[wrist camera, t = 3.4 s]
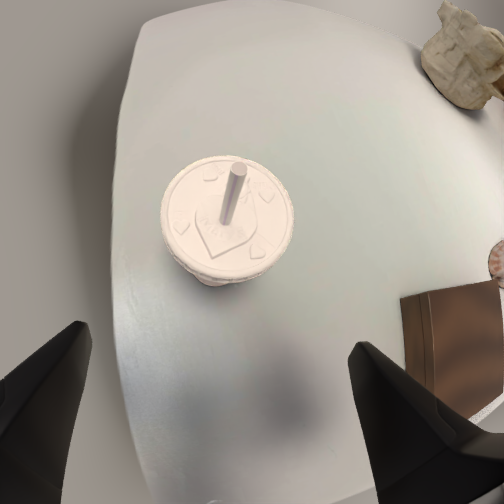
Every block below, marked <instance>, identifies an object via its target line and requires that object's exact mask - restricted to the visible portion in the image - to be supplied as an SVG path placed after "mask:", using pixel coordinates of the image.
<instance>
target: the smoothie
mask: <svg viewBox="0 0 504 504" xmlns="http://www.w3.org/2000/svg"><path fill="white" fill-rule="evenodd" d="M160 218H161V230H162V233H163V237H164V240H165V244H166V246H167V248H168V249H169V251H170V252H171V254H172V255H173V257H174V259H175V260H176V261H177V262H178V263H179V264H181V265H182V266H183V267H184V268H185V269H186V270H187V271H188V272H190V273H192V274H194V275H195V277H196V278H197V279H198V280H199V281H200V282H202V283H204V284H206V285H208V286H222V285H225V284H227V283H239V282H244V281H247V280H250V279H253V278H256V277H258V276H260V275H261V274H263V273H264V272H266V271H267V270H268V269H270V268H271V267H273V265H274V264H275V263H276V262H277V260H278V259H279V258H280V257H281V255H282V254H283V253H284V251H285V250H286V248H287V246H288V244H289V242H290V240H291V237H292V233H293V228H294V212H293V206H292V203H291V200H290V197H289V195H288V193H287V191H286V189H285V188H284V186H283V185H282V183H281V182H280V181H279V180H278V179H277V178H276V177H275V176H274V175H273V174H272V173H271V172H270V171H269V170H267V169H266V168H265V167H263V166H261V165H260V164H258V163H255V162H253V161H251V160H248V159H245V158H241V157H236V156H213V157H208V158H204V159H201V160H199V161H196V162H194V163H192V164H190V165H189V166H187V167H185V168H184V169H183V170H182V171H180V172H179V173H178V174H177V175H176V176H175V177H174V179H173V180H172V181H171V183H170V184H169V186H168V187H167V189H166V191H165V194H164V196H163V199H162V204H161V211H160Z"/></svg>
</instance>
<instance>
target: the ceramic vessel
mask: <svg viewBox="0 0 504 504" xmlns="http://www.w3.org/2000/svg"><path fill="white" fill-rule="evenodd" d="M437 14H438V16H439V18H440V20H441V22H442V28H441V30H440V31H439V32H437V33H436V34H435V35H434V36H433V37H432V38H431V39H430V40H428V42H427V43H426V44H425V45H424V48H423V50H422V51H421V62H422V68H423V69H424V70H425V72H426V73H427V74H428V76H429V77H430V79H431V81H432V82H433V83H434V85H435V86H436V88H437V89H438V90H439V91H440V92H441V93H442V94H443V95H444V96H445V98H447V99H448V100H449V101H451V102H452V103H453V104H454V105H456V106H458V107H461V108H465V109H474V110H478V109H482V108H483V107H484V105H485V104H486V102H487V101H488V100H490V99H491V97H492V96H495V97H497V98H499V99H501V100H503V101H504V36H503V35H502V34H501V33H500V32H499V31H498V30H496V29H494V28H488V27H484V26H481V25H480V24H479V23H478V22H477V18H476V17H475V16H474V15H473V14H471V13H470V12H468V11H467V10H464V11H463V12H462V11H461V10H460V9H459V8H457V7H456V6H454V5H453V4H452V3H451V2H448V1H446V0H444V2H443V3H442V5H441V7H440V9H439V10H438V11H437Z"/></svg>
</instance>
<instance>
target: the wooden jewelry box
mask: <svg viewBox="0 0 504 504" xmlns="http://www.w3.org/2000/svg"><path fill="white" fill-rule="evenodd" d="M400 301H401V309H402V318H403V329H404V341H405V357H406V372H407V373H408V374H409V375H410V376H412V377H413V378H414V379H415V380H417V381H418V382H419V383H420V384H421V385H423V386H424V387H425V388H426V389H428V390H429V391H430V392H431V393H433V394H434V395H435V396H436V397H438V398H439V399H440V400H441V401H443V402H444V403H445V404H446V405H448V406H449V407H450V408H451V409H453V410H454V411H456V412H457V413H458V414H460V415H461V416H463V417H464V418H466V419H469V418H470V417H472V416H473V415H475V414H476V413H477V412H479V411H480V410H481V409H483V408H484V407H486V406H487V405H488V404H489V403H491V402H492V401H493V400H495V399H496V398H497V397H498V396H500V395H501V394H502V393H503V386H504V333H503V318H502V308H501V299H500V291H499V285H498V279H495V280H490V281H484V282H479V283H474V284H468V285H463V286H457V287H451V288H445V289H439V290H433V291H427V292H423V293H420V294H416V295H412V296H408V297H404V298H401V299H400Z"/></svg>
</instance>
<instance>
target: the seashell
mask: <svg viewBox="0 0 504 504" xmlns="http://www.w3.org/2000/svg"><path fill="white" fill-rule="evenodd" d="M489 270H490V273H491V274H492V279H493V280H495V279H498V285H499V286H501V287H502V288H504V240H503V241H501V242H499V243H498V244H497V245H496V246H495V247H494V248H493V250H492V251H491V254H490V258H489Z"/></svg>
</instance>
